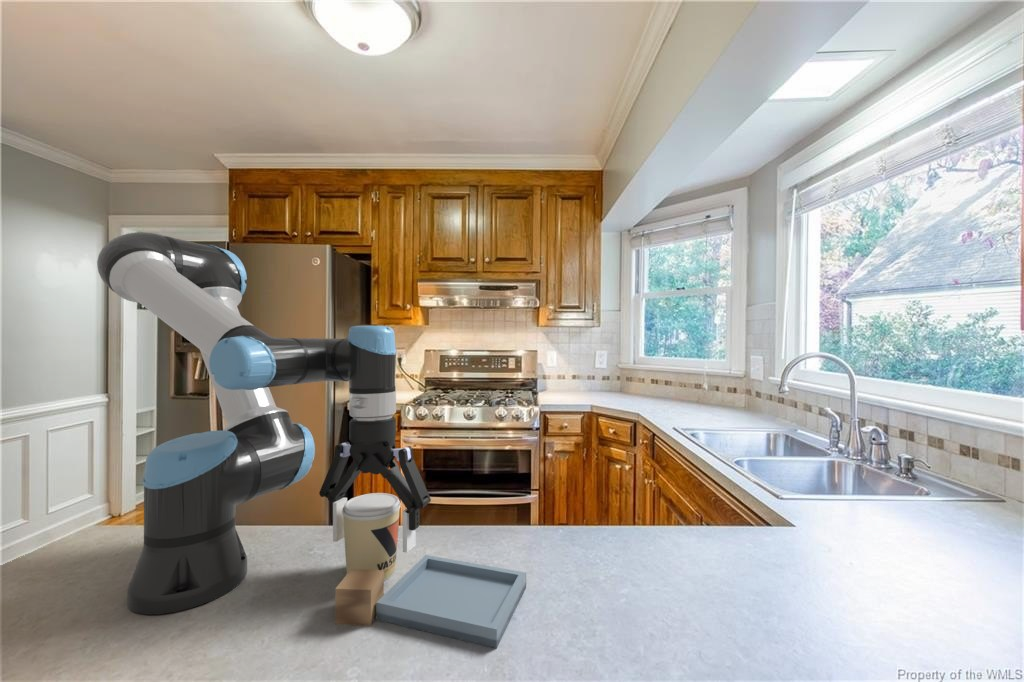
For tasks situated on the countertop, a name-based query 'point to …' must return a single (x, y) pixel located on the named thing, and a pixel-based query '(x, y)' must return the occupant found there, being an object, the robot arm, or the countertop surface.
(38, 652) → the countertop surface
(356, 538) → the coffee cup
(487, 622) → the collection tray
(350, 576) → the walnut block
